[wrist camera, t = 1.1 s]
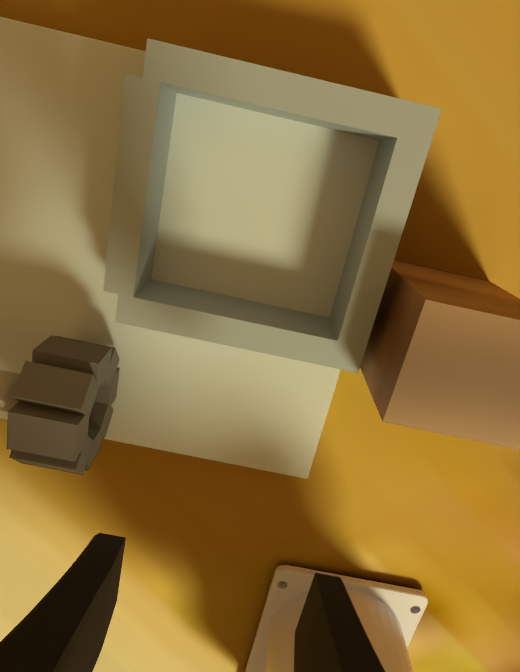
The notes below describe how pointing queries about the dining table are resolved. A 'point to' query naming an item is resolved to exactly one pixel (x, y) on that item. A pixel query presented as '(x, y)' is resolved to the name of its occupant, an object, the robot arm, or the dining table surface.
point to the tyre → (63, 404)
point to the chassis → (198, 234)
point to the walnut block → (446, 355)
